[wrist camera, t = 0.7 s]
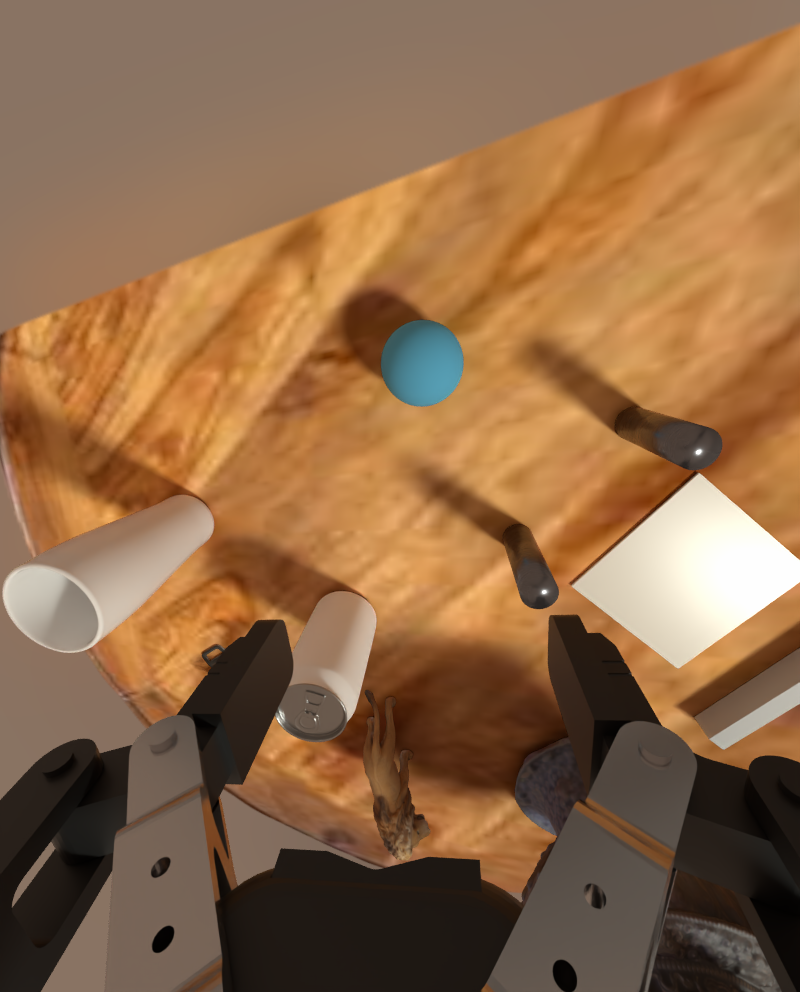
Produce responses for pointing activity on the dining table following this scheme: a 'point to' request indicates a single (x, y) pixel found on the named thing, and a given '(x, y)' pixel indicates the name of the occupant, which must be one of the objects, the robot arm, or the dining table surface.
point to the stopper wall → (753, 703)
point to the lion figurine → (391, 786)
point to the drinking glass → (103, 574)
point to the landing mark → (690, 573)
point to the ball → (422, 363)
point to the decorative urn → (693, 903)
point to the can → (328, 668)
